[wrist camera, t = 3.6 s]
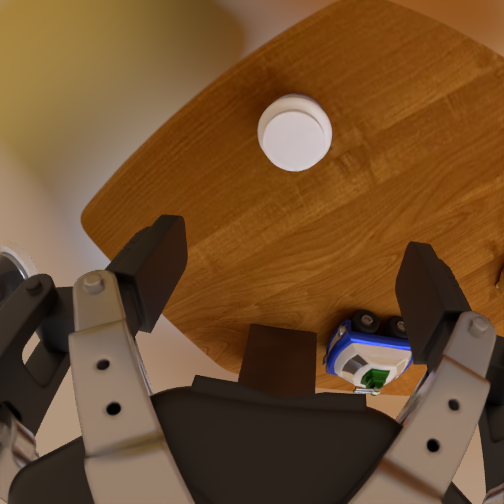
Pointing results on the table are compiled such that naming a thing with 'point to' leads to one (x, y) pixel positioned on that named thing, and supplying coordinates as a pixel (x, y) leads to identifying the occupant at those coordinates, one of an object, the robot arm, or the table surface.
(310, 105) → the pill bottle
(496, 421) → the robot arm
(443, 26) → the table surface
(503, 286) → the mug
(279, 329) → the tall grey box
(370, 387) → the toy car
